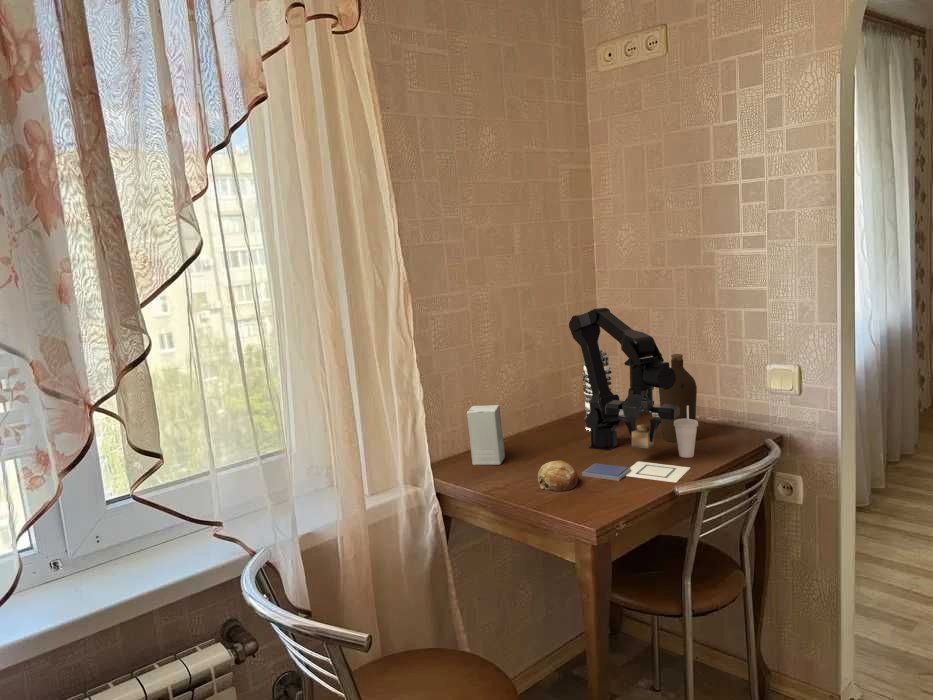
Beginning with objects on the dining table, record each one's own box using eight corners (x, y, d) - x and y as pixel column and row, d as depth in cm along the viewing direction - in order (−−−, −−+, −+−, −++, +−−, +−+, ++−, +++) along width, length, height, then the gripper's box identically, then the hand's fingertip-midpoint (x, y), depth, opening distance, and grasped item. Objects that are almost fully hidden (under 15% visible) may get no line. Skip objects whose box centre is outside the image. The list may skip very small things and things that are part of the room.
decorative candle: (616, 425, 230) (614, 348, 227) (609, 433, 222) (606, 353, 218) (588, 424, 234) (585, 348, 230) (580, 431, 226) (577, 353, 222)
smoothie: (700, 459, 191) (699, 408, 189) (675, 459, 193) (674, 408, 191) (697, 452, 198) (696, 402, 196) (673, 452, 199) (672, 403, 197)
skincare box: (505, 458, 203) (502, 404, 201) (499, 466, 196) (496, 410, 194) (476, 458, 206) (473, 404, 203) (469, 465, 199) (466, 410, 196)
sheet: (621, 476, 183) (621, 474, 182) (637, 462, 192) (637, 460, 192) (676, 483, 175) (676, 481, 175) (690, 468, 185) (690, 467, 185)
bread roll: (535, 498, 181) (525, 474, 178) (557, 471, 187) (547, 447, 184) (566, 506, 174) (556, 481, 171) (588, 478, 180) (579, 454, 177)
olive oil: (705, 438, 210) (704, 354, 206) (679, 445, 205) (677, 359, 201) (678, 431, 219) (676, 350, 215) (652, 438, 214) (650, 355, 210)
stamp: (631, 446, 191) (631, 426, 191) (637, 443, 195) (637, 423, 195) (648, 448, 189) (648, 427, 188) (653, 445, 192) (653, 425, 192)
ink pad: (582, 476, 184) (581, 471, 184) (594, 467, 191) (594, 462, 191) (619, 481, 179) (619, 476, 179) (630, 471, 185) (630, 466, 185)
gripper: (595, 387, 188) (597, 445, 190) (666, 392, 178) (667, 453, 180) (611, 379, 197) (613, 434, 199) (680, 383, 187) (681, 441, 189)
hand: (642, 440), depth 192 cm, fingers closed on stamp, 4 cm apart
